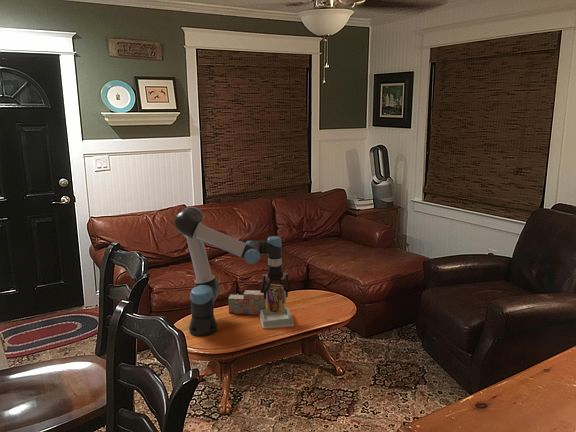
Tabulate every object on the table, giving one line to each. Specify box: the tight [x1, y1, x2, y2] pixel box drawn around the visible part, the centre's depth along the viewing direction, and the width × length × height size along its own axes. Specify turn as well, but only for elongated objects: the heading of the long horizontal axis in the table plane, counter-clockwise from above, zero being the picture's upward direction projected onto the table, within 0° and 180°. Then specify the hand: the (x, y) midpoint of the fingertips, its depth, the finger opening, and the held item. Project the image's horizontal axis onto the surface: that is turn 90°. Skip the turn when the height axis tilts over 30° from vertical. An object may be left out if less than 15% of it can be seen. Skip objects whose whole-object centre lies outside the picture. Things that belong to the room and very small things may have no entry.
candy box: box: [266, 283, 285, 313], centre depth 276 cm, size 9×4×15 cm, turn 71°
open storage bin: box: [258, 307, 295, 329], centre depth 278 cm, size 17×17×4 cm
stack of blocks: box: [227, 289, 267, 315], centre depth 290 cm, size 21×6×12 cm, turn 83°
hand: (275, 303), depth 277 cm, fingers closed on candy box, 9 cm apart
